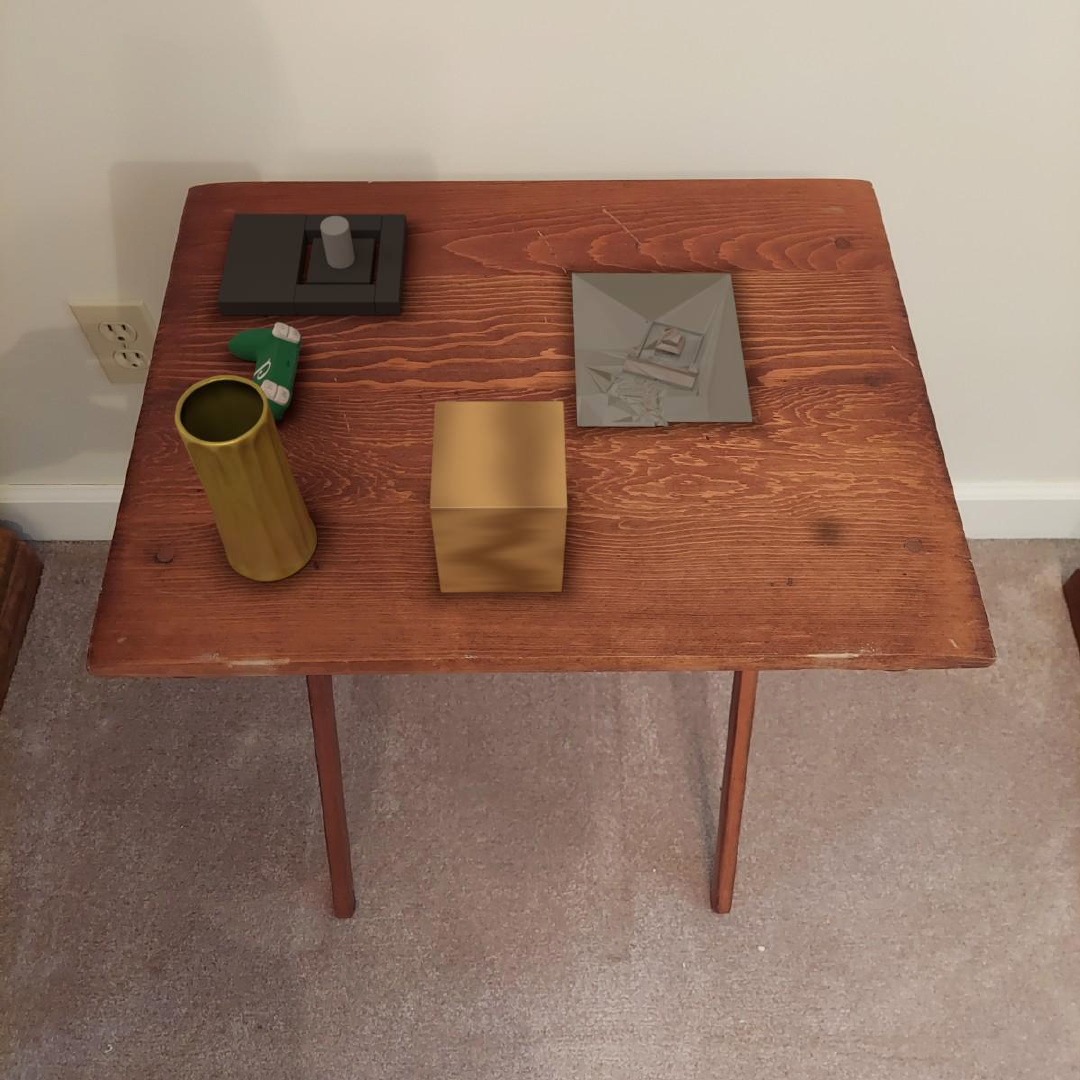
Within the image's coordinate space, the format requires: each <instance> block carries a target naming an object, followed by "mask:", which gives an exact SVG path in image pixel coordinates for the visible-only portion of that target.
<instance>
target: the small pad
mask: <svg viewBox="0 0 1080 1080" xmlns="http://www.w3.org/2000/svg"><path fill="white" fill-rule="evenodd" d="M320 229H321V233H322V238H314V239H313V243H311V249H310V258H309V264H308V270H307V276H306V285H374V283H373V282H374V276H375V275H374V274H375V266H376V258H377V257H376V256H377V243H375V239H372V238H351V233H350V228H349V223H348V221H347V220H346V219H345V218H343V217H341V216H331V217H328V218H326V219H324V220H323V221H322V223H321V225H320Z"/></svg>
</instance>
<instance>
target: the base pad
mask: <svg viewBox="0 0 1080 1080" xmlns="http://www.w3.org/2000/svg"><path fill="white" fill-rule="evenodd" d="M331 216H341V217H343V218H345V219H346V220H347V221H348V223H349V228H350V233H351V238H372V239H375V243H376V244H379V249H378V250H379V251H378V259H377V270H376V280H375V284H372V285H307V284H302V283H303V277H304V270H305V262H306V257H307V249H308V244H313V239H314V238H322V233H321V229H320V225H321V223H322V221H323V220H324V219H326V218H328V217H331ZM407 235H408V224H407V215H406V214H405V213H404V214H403V213H386V214H385V213H383V214H382V213H379V214H378V213H376V214H375V213H373V214H372V213H370V214H369V213H308V214H307V213H234V217H233V221H232V226H231V230H230V236H229V240H228V246H227V252H226V255H225V259H224V260H225V261H224V265H223V270H222V275H221V280H220V285H219V289H218V295H217V299H216V303H217V306H218V309H219V313H220V316H222V317H223V316H225V317H227V316H230V317H231V316H233V317H234V316H237V317H238V316H400V315H401V314H402V302H403V300H402V299H403V287H404V275H405V260H406V249H407Z"/></svg>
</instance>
